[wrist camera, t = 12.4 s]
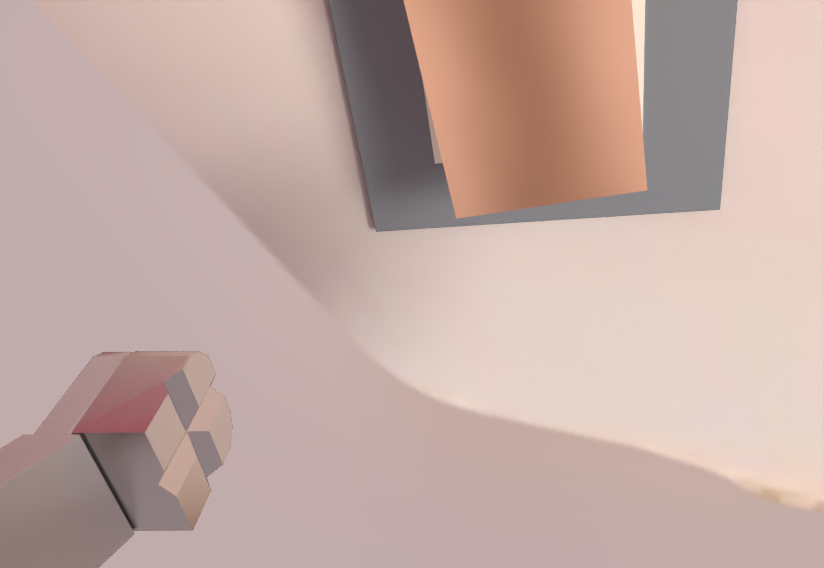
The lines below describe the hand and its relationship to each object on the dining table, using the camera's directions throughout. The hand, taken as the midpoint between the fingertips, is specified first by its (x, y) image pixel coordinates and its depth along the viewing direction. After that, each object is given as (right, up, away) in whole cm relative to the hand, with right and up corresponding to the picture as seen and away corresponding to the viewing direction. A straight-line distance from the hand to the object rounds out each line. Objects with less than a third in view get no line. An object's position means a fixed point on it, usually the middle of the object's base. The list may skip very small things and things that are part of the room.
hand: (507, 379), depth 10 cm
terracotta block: (+3, +11, +16) cm, 20 cm away
